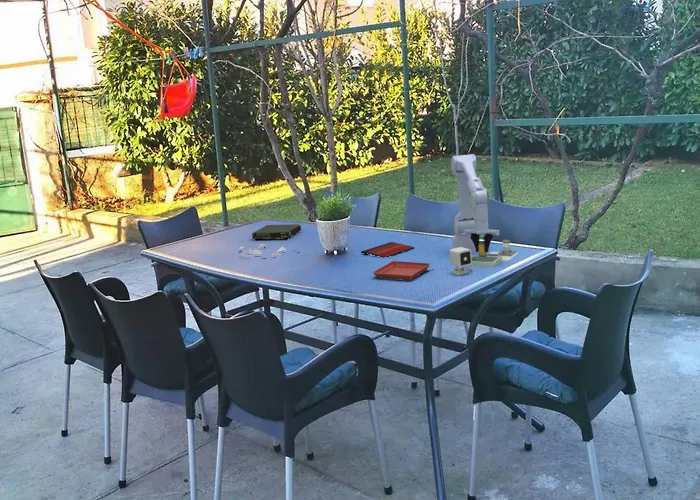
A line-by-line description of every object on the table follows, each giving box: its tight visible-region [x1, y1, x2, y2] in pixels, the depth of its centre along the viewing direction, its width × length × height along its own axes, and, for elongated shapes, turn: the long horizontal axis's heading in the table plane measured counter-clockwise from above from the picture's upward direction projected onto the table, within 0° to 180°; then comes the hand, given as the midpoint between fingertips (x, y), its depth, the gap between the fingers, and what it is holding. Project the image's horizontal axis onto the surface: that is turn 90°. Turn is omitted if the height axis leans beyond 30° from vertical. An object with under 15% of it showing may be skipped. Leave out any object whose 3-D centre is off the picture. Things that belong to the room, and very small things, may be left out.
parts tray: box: [467, 254, 503, 268], centre depth 288 cm, size 13×10×3 cm
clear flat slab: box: [239, 242, 287, 256], centre depth 348 cm, size 35×24×3 cm
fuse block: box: [487, 249, 519, 262], centre depth 297 cm, size 12×13×2 cm
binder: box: [360, 241, 415, 258], centre depth 327 cm, size 16×2×21 cm
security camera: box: [449, 247, 473, 276], centre depth 279 cm, size 6×7×10 cm
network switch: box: [251, 223, 302, 240], centre depth 385 cm, size 23×23×5 cm
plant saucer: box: [372, 260, 431, 281], centre depth 286 cm, size 18×18×3 cm
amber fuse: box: [478, 240, 488, 257], centre depth 286 cm, size 3×3×6 cm
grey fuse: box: [501, 239, 511, 253], centre depth 298 cm, size 3×3×6 cm
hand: (482, 251), depth 286 cm, fingers closed on amber fuse, 3 cm apart
